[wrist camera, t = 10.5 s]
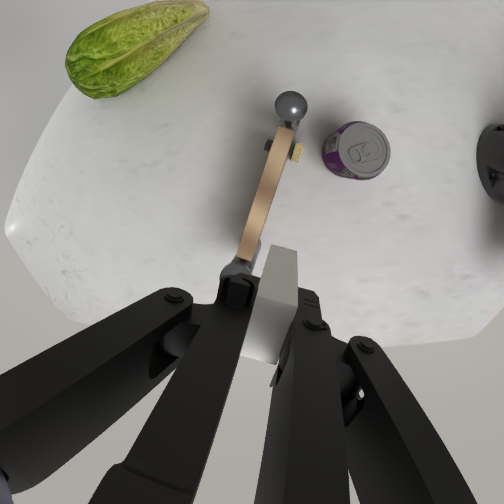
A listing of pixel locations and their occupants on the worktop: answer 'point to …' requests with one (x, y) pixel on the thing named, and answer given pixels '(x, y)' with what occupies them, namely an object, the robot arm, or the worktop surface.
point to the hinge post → (241, 264)
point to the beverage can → (356, 151)
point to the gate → (265, 191)
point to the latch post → (290, 109)
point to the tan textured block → (297, 152)
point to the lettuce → (130, 45)
